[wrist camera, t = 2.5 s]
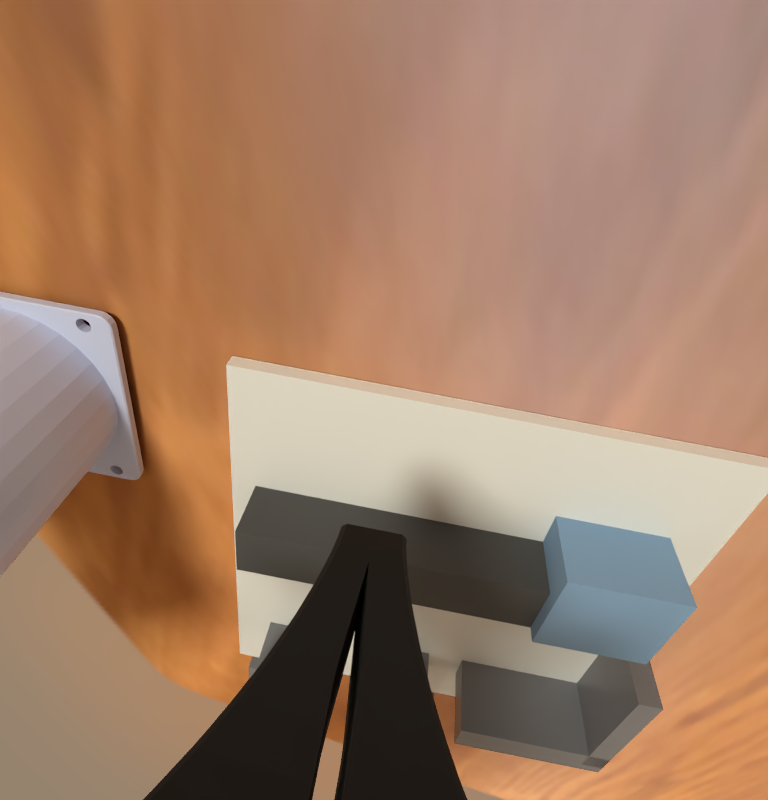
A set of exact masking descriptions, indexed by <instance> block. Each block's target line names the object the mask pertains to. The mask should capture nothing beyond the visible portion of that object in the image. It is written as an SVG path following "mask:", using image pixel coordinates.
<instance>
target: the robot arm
mask: <svg viewBox="0 0 768 800" xmlns="http://www.w3.org/2000/svg"><path fill="white" fill-rule="evenodd" d="M83 319H84V320H86V321H87V322H88V323H89V324H90V326H88V325H87V324H86V323H85V322H84V321H83ZM87 472H92V473H97V474H102V475H108V476H113V477H118V478H123V479H128V480H137V479H139V478H140V476H141V475H142V474H143V472H144V467H143V462H142V456H141V451H140V446H139V440H138V435H137V429H136V424H135V419H134V413H133V408H132V403H131V397H130V392H129V387H128V381H127V376H126V371H125V365H124V360H123V355H122V349H121V344H120V339H119V333H118V328H117V324H116V322H115V320H114V319H113V318H112V317H111V316H110V315H109V314H107V313H106V312H103V311H99V310H94V309H89V308H84V307H78V306H73V305H68V304H62V303H57V302H52V301H47V300H41V299H36V298H31V297H25V296H20V295H15V294H10V293H4V292H0V577H1V576H2V575H3V573H4V572H5V571H6V570H7V568H8V567H9V566H10V565H11V563H12V562H13V561H14V560H15V559H16V558H17V556H18V555H19V554H20V553H21V552H22V550H23V549H24V548H25V546H27V544H28V543H29V542H30V541H31V539H32V538H33V537H34V536H35V535H36V533H37V532H38V531H39V530H40V529H41V527H42V526H43V525H44V524H45V523H46V521H47V520H48V519H49V518H50V517H51V515H52V514H53V513H54V512H55V510H56V509H57V508H58V507H59V506H60V504H61V503H62V502H63V501H64V500H65V498H66V497H67V496H68V495H69V494H70V492H71V491H72V490H73V489H74V487H75V486H76V485H77V484H78V483H79V481H80V480H81V479H82V478H83V477H84V475H85V474H86V473H87ZM406 543H407V539H406V538H405V537H404V536H403V535H402V534H397V533H392V532H387V531H382V530H377V529H372V528H367V527H362V526H357V525H352V524H345V525H343V526H341V529H340V532H339V535H338V537H337V540H336V542H335V544H334V547H333V549H332V551H331V553H330V555H329V557H328V559H327V561H326V563H325V565H324V567H323V569H322V571H321V572H320V574H319V576H318V578H317V580H316V581H315V583H314V585H313V586H312V588H311V590H310V591H309V593H308V595H307V596H306V598H305V600H304V601H303V603H302V605H301V606H300V608H299V610H298V611H297V613H296V614H295V616H294V617H293V619H292V620H291V622H290V623H289V625H288V626H287V627H286V629H285V630H284V632H283V633H282V635H281V636H280V638H279V639H278V641H277V642H276V644H275V645H274V646H273V648H272V649H271V651H270V652H269V653H268V655H267V656H266V658H265V659H264V660H263V662H262V663H261V664H260V666H259V667H258V668H257V670H256V671H255V672H254V674H253V675H252V676H251V677H250V679H249V680H248V681H247V683H246V684H245V685H244V686H243V688H242V689H241V690H240V691H239V693H238V694H237V695H236V696H235V698H234V699H233V700H232V701H231V703H230V704H229V705H228V706H227V708H225V710H224V711H223V712H222V713H221V714H220V716H219V717H218V718H217V719H216V720H215V722H214V723H213V724H212V725H211V727H210V728H209V729H208V730H207V731H206V732H205V733H204V735H203V736H202V737H201V738H200V739H199V740H198V742H196V744H195V745H194V746H193V747H192V748H191V749H190V750H189V751H188V752H187V754H186V755H185V756H184V757H183V758H182V759H181V760H180V761H179V762H178V763H177V764H176V765H175V766H174V768H173V769H172V770H171V771H170V772H169V773H168V774H167V775H166V776H165V777H164V778H163V779H162V780H161V781H160V783H159V784H158V785H157V786H156V787H155V788H154V789H153V790H152V791H151V792H150V793H149V794H148V795H147V796H146V797H145V798H144V799H143V800H312V797H313V791H314V786H315V782H316V777H317V771H318V766H319V762H320V757H321V753H322V749H323V745H324V741H325V737H326V733H327V729H328V726H329V722H330V719H331V715H332V711H333V708H334V704H335V701H336V697H337V693H338V690H339V686H340V683H341V679H342V675H343V672H344V668H345V665H346V661H347V657H348V654H349V650H350V647H351V643H352V639H353V636H354V644H353V654H352V664H351V674H350V684H349V694H348V705H347V715H346V725H345V735H344V743H343V751H342V759H341V765H340V771H339V777H338V783H337V788H336V794H335V800H467V798H466V795H465V793H464V791H463V787H462V785H461V782H460V780H459V777H458V774H457V771H456V768H455V765H454V762H453V759H452V756H451V753H450V750H449V748H448V745H447V742H446V738H445V735H444V732H443V729H442V726H441V722H440V719H439V716H438V713H437V709H436V706H435V702H434V699H433V695H432V692H431V688H430V684H429V680H428V676H427V672H426V668H425V665H424V661H423V656H422V652H421V647H420V643H419V638H418V633H417V628H416V623H415V618H414V613H413V607H412V601H411V594H410V586H409V579H408V569H407V551H406ZM354 632H355V635H354Z"/></svg>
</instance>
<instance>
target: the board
mask: <svg viewBox="0 0 768 800" xmlns="http://www.w3.org/2000/svg"><path fill="white" fill-rule="evenodd" d="M226 368H227V389H228V410H229V431H230V453H231V474H232V495H233V516H234V537H235V531H236V528H237V526H238V524H239V522H240V519H241V517H242V515H243V513H244V510H245V508H246V506H247V504H248V501H249V499H250V497H251V495H252V493H253V490H254V488H255V486H259V487H265V488H270V489H275V490H280V491H285V492H290V493H295V494H300V495H306V496H311V497H316V498H321V499H326V500H331V501H336V502H342V503H347V504H352V505H357V506H362V507H367V508H372V509H378V510H383V511H388V512H393V513H398V514H403V515H408V516H414V517H419V518H424V519H429V520H434V521H439V522H444V523H450V524H455V525H460V526H465V527H470V528H475V529H480V530H485V531H491V532H496V533H501V534H506V535H511V536H516V537H521V538H527V539H532V540H537V541H542V542H543V541H544V539H545V537H546V535H547V533H548V531H549V529H550V527H551V525H552V523H553V521H554V519H555V517H556V516H559V517H564V518H569V519H574V520H580V521H585V522H590V523H595V524H600V525H605V526H611V527H616V528H621V529H626V530H631V531H636V532H641V533H647V534H652V535H657V536H662V537H667V538H671V541H672V544H673V546H674V549H675V551H676V554H677V557H678V559H679V562H680V564H681V567H682V570H683V572H684V575H685V577H686V580H687V582H688V585H689V586H690V585H691V584H692V583H693V581H694V580H695V579H696V578H697V577H698V575H699V574H700V573H701V572H702V571H703V569H704V568H705V567H706V566H707V565H708V564H709V562H710V561H711V560H712V559H713V558H714V556H715V555H716V554H717V553H718V552H719V550H720V549H721V548H722V547H723V546H724V544H725V543H726V542H727V541H728V540H729V539H730V537H731V536H732V535H733V534H734V533H735V531H736V530H737V529H738V528H739V527H740V525H741V524H742V523H743V522H744V521H745V520H746V518H747V517H748V516H749V515H750V514H751V512H752V511H753V510H754V509H755V508H756V506H757V505H758V504H759V503H760V502H761V500H762V499H763V498H764V497H765V496H766V495H767V493H768V458H767V457H762V456H756V455H751V454H746V453H741V452H735V451H730V450H725V449H720V448H714V447H709V446H704V445H699V444H693V443H688V442H683V441H678V440H672V439H667V438H662V437H657V436H651V435H646V434H641V433H636V432H630V431H625V430H620V429H615V428H609V427H604V426H599V425H594V424H588V423H583V422H578V421H572V420H567V419H562V418H557V417H551V416H546V415H541V414H536V413H530V412H525V411H520V410H515V409H509V408H504V407H499V406H494V405H488V404H483V403H478V402H473V401H467V400H462V399H457V398H452V397H446V396H441V395H436V394H431V393H425V392H420V391H415V390H410V389H404V388H399V387H394V386H389V385H383V384H378V383H373V382H367V381H362V380H357V379H352V378H346V377H341V376H336V375H331V374H325V373H320V372H315V371H310V370H304V369H299V368H294V367H289V366H283V365H278V364H273V363H268V362H262V361H257V360H252V359H247V358H241V357H236V356H232V357H231V359H230V360H229V362H228V363H227V365H226ZM235 558H236V540H235ZM236 579H237V600H238V621H239V642H240V654H245V655H250V656H255V657H252V659H251V662H250V665H249V679H250V677H251V676H252V675H253V674H254V672H255V671H256V670H257V668H258V667H259V666H260V664H261V663H262V662H263V660H264V659H265V658H266V656H267V655H268V653H269V652H270V651H271V649H272V648H273V646H274V645H275V644H276V642H277V641H278V639H279V638H280V636H281V635H282V633H283V632H284V630H285V629H286V627H287V626H288V625H289V623H290V622H291V620H292V619H293V617H294V616H295V614H296V613H297V611H298V610H299V608H300V606H301V605H302V603H303V601H304V600H305V598H306V596H307V595H308V593H309V591H310V590H311V588H312V586H313V584H308V583H303V582H298V581H293V580H288V579H283V578H277V577H272V576H267V575H262V574H257V573H252V572H247V571H242V570H237V562H236ZM412 607H413V613H414V618H415V623H416V628H417V633H418V638H419V643H420V647H421V652H422V656H423V661H424V665H425V668H426V672H427V676H428V680H429V684H430V688H431V692H435V693H440V694H445V695H450V696H455V736H454V743H456V744H461V745H466V746H471V747H475V748H480V749H485V750H490V751H495V752H500V753H505V754H510V755H515V756H520V757H525V758H530V759H535V760H540V761H545V762H550V763H555V764H560V765H564V766H569V767H574V768H579V769H584V770H589V771H594V772H599V771H600V770H601V769H602V768H603V767H604V766H605V765H606V764H607V763H608V762H609V761H610V760H611V759H612V758H613V757H614V756H615V755H616V754H617V753H618V752H619V751H620V750H621V749H623V748H624V747H625V746H626V745H627V744H628V743H629V742H630V741H631V740H632V739H633V738H634V737H635V736H636V735H637V734H638V733H639V732H640V731H641V730H642V729H643V728H644V727H645V726H646V725H647V724H649V723H650V722H651V721H652V720H653V719H654V718H655V717H656V716H657V715H658V714H659V713H660V712H661V711H662V710H663V707H662V703H661V700H660V696H659V693H658V689H657V685H656V682H655V678H654V675H653V671H652V668H651V664H650V661H649V662H648V663H647V664H641V663H636V662H631V661H626V660H621V659H616V658H611V657H606V656H601V655H596V654H591V653H586V652H581V651H576V650H571V649H566V648H561V647H556V646H550V645H545V644H540V643H535V642H532V637H531V628H530V627H525V626H520V625H515V624H510V623H505V622H500V621H495V620H490V619H485V618H480V617H475V616H470V615H465V614H460V613H455V612H449V611H444V610H439V609H434V608H429V607H424V606H419V605H414V604H412ZM354 635H355V632H354ZM353 644H354V636H353V639H352V643H351V647H350V650H349V654H348V657H347V661H346V665H345V668H344V672H343V674H345V675H350V674H351V664H352V654H353ZM256 657H259V658H256ZM432 695H433V697H434V693H432Z"/></svg>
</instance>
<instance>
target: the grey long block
mask: <svg viewBox="0 0 768 800" xmlns="http://www.w3.org/2000/svg"><path fill="white" fill-rule="evenodd" d="M345 524H352V525H357V526H362V527H367V528H372V529H377V530H382V531H387V532H392V533H397V534H402V535H403V536H404V537H405V538H406V539H407V543H406V551H407V569H408V579H409V586H410V594H411V601H412V604H414V605H419V606H424V607H429V608H434V609H439V610H444V611H449V612H455V613H460V614H465V615H470V616H475V617H480V618H485V619H490V620H495V621H500V622H505V623H510V624H515V625H520V626H525V627H530V628H531V637H532V642H535V643H540V644H545V645H550V646H556V647H561V648H566V649H571V650H576V651H581V652H586V653H591V654H596V655H601V656H606V657H611V658H616V659H621V660H626V661H631V662H636V663H641V664H647V663H648V662H649V661H650V660H651V659H652V658H653V656H654V655H655V654H656V653H657V652H658V651H659V650H660V649H661V647H662V646H663V645H664V644H665V643H666V642H667V641H668V640H669V639H670V637H671V636H672V635H673V634H674V633H675V632H676V631H677V630H678V628H679V627H680V626H681V625H682V624H683V623H684V622H685V621H686V620H687V618H688V617H689V616H690V615H691V614H692V613H693V612H694V611H695V609H696V608H697V606H696V603H695V601H694V598H693V595H692V593H691V590H690V588H689V585H688V582H687V580H686V577H685V575H684V572H683V570H682V567H681V564H680V562H679V559H678V557H677V554H676V551H675V549H674V546H673V544H672V541H671V538H667V537H662V536H657V535H652V534H647V533H641V532H636V531H631V530H626V529H621V528H616V527H611V526H605V525H600V524H595V523H590V522H585V521H580V520H574V519H569V518H564V517H559V516H556V517H555V519H554V521H553V523H552V525H551V527H550V529H549V531H548V533H547V535H546V537H545V539H544V541H543V542H542V541H537V540H532V539H527V538H521V537H516V536H511V535H506V534H501V533H496V532H491V531H485V530H480V529H475V528H470V527H465V526H460V525H455V524H450V523H444V522H439V521H434V520H429V519H424V518H419V517H414V516H408V515H403V514H398V513H393V512H388V511H383V510H378V509H372V508H367V507H362V506H357V505H352V504H347V503H342V502H336V501H331V500H326V499H321V498H316V497H311V496H306V495H300V494H295V493H290V492H285V491H280V490H275V489H270V488H265V487H259V486H255V488H254V490H253V493H252V495H251V497H250V499H249V501H248V504H247V506H246V508H245V510H244V513H243V515H242V517H241V519H240V522H239V524H238V526H237V528H236V531H235V540H236V562H237V570H242V571H247V572H252V573H257V574H262V575H267V576H272V577H277V578H283V579H288V580H293V581H298V582H303V583H308V584H313V585H314V583H315V581H316V580H317V578H318V576H319V574H320V572H321V571H322V569H323V567H324V565H325V563H326V561H327V559H328V557H329V555H330V553H331V551H332V549H333V547H334V544H335V542H336V540H337V537H338V535H339V532H340V529H341V526H343V525H345Z"/></svg>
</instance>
